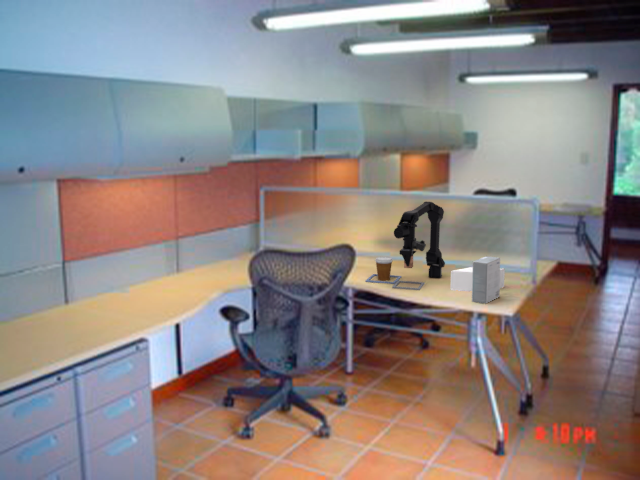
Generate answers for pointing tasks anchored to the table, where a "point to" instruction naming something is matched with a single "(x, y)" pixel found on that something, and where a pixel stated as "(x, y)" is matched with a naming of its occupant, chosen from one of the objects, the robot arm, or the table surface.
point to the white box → (467, 279)
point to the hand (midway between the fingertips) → (408, 265)
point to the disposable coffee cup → (383, 268)
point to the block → (409, 264)
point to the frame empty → (408, 287)
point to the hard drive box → (486, 279)
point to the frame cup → (382, 281)
